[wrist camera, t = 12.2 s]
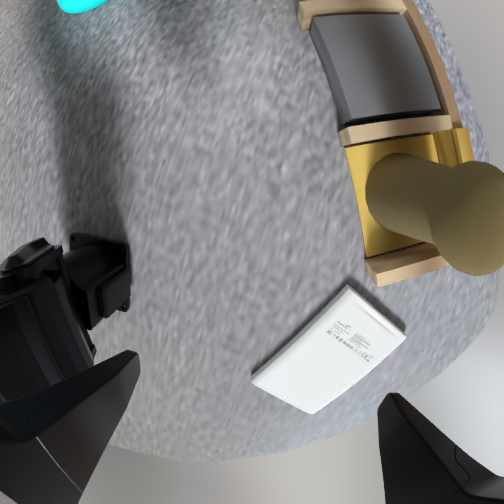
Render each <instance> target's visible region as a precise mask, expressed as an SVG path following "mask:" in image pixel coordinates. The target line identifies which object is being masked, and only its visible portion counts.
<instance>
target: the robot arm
mask: <svg viewBox="0 0 504 504" xmlns="http://www.w3.org/2000/svg"><path fill="white" fill-rule="evenodd" d="M74 237H75V239H74ZM121 247H123V249H124V251H122V249H121ZM62 253H63V248H62V245H56V246H54V245H50V244H49V243H48V242H47V241H46V240H45V239H44V238H38V239H36V240H33V241H31V242H29V243H27V244H25V245H23V246H21V247H20V248H18V249H17V250H16V251H15V252H13V253H12V254H11V255H10V256H9V257H8V258H6V259H5V260H4V261H3V263H2V264H1V265H0V504H78V502H79V500H80V498H81V496H82V494H83V493H82V492H83V491H84V489H85V487H86V485H87V483H88V481H89V479H90V477H91V475H92V473H93V471H94V469H95V467H96V465H97V463H98V461H99V460H100V457H101V455H102V454H103V452H104V450H105V448H106V446H107V444H108V442H109V440H110V438H111V436H112V434H113V433H114V431H115V429H116V427H117V425H118V423H119V421H120V419H121V418H122V416H123V414H124V412H125V410H126V408H127V406H128V403H129V401H130V398H131V395H132V393H133V390H134V388H135V385H136V383H137V380H138V378H139V375H140V360H139V354H138V353H137V352H134V351H131V350H126V351H124V352H122V353H119V354H117V355H115V356H113V357H111V358H109V359H107V360H105V361H103V362H101V363H99V364H97V365H95V366H93V365H94V361H93V360H94V357H95V354H96V351H97V350H96V348H95V345H94V344H92V341H91V339H90V336H89V334H88V331H87V330H92V329H93V328H94V327H95V326H96V325H97V324H98V323H99V322H100V321H101V320H102V319H103V318H106V319H107V318H108V317H110V316H111V315H112V314H113V313H114V312H115V311H116V310H119V311H123V312H126V311H128V309H129V308H130V300H129V297H130V295H131V292H130V270H129V249H128V246H127V244H126V243H124V242H119V241H114V240H109V239H105V238H100V237H95V236H90V235H86V234H81V233H76V232H74V233H72V234H71V235H70V251H69V252H67V253H65V254H62ZM123 305H124V306H125V307H124V306H123ZM377 414H378V432H379V449H380V456H381V464H382V472H383V481H384V490H385V501H386V504H504V477H500V476H498V475H495V474H494V473H492V472H491V471H490V470H488V469H487V468H485V467H484V466H483V465H481V464H480V463H478V462H477V461H476V460H474V459H473V458H472V457H470V456H469V455H468V454H467V453H465V452H464V451H463V450H462V449H461V448H459V447H458V446H457V445H456V444H455V443H454V442H453V441H452V440H450V439H449V438H448V437H447V436H446V435H445V434H444V433H442V432H441V431H440V430H439V429H438V428H437V427H436V426H435V425H434V424H433V423H431V422H430V421H429V420H428V419H427V418H426V417H425V416H424V415H422V414H421V413H420V412H419V411H418V410H417V409H416V408H415V407H414V406H412V405H411V404H410V403H409V402H408V401H407V400H406V399H405V398H404V397H402V396H401V395H400V394H399V393H388V394H387V395H386V396H385V398H384V400H383V401H382V403H381V404H380V406H379V408H378V412H377Z"/></svg>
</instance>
